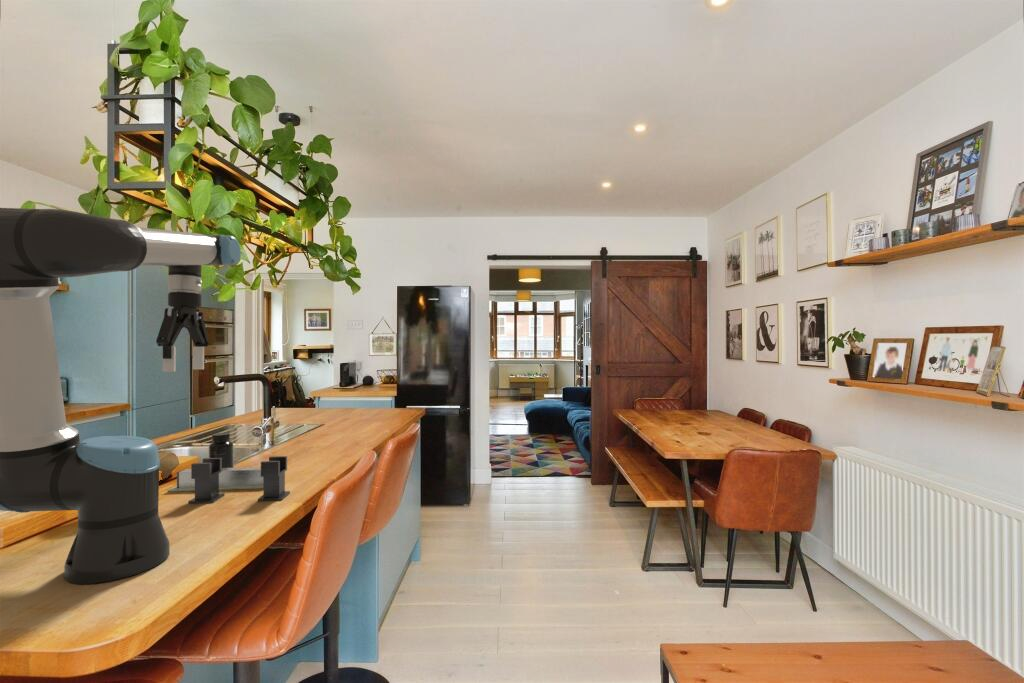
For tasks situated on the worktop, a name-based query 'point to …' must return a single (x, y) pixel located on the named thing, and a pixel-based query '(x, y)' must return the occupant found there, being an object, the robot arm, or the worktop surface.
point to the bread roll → (167, 463)
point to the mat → (219, 488)
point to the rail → (225, 477)
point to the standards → (211, 467)
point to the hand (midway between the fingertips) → (184, 370)
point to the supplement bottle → (222, 449)
